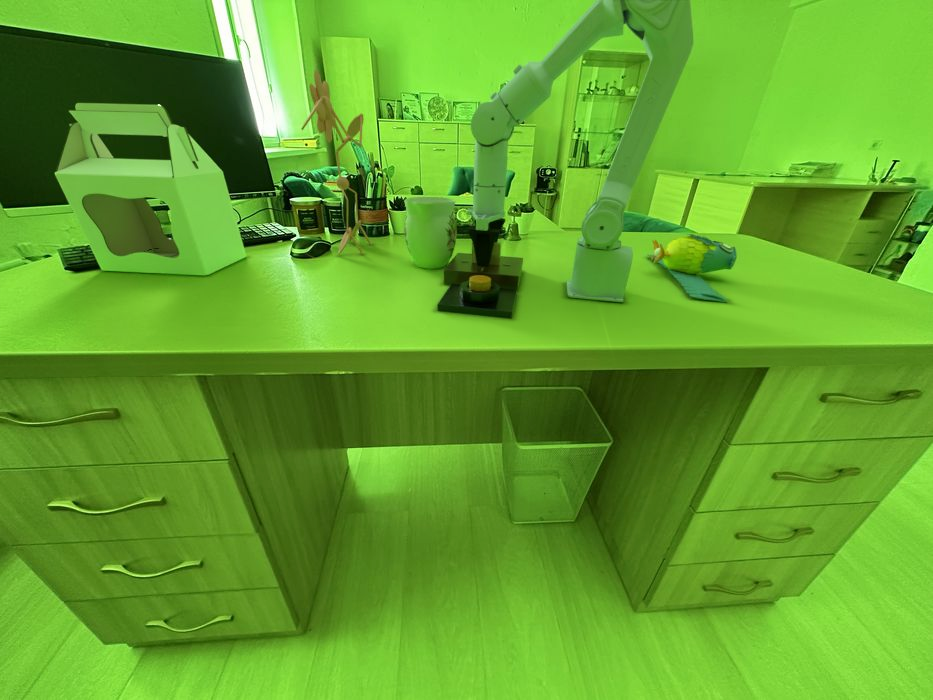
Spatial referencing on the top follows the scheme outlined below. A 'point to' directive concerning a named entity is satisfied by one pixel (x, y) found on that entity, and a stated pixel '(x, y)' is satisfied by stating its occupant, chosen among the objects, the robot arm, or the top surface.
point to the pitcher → (430, 230)
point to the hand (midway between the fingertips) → (485, 260)
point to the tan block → (494, 257)
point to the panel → (484, 271)
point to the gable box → (147, 195)
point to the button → (480, 283)
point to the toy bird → (695, 263)
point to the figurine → (324, 124)
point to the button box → (479, 300)
